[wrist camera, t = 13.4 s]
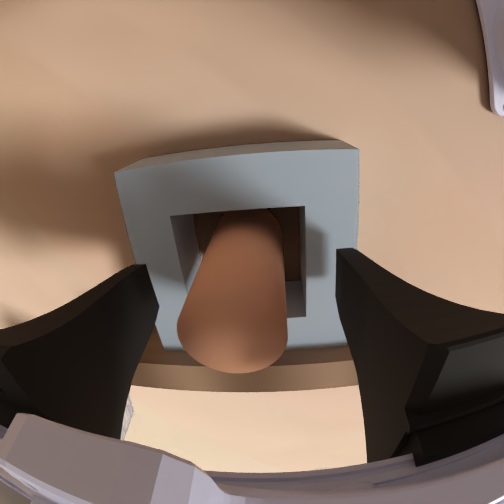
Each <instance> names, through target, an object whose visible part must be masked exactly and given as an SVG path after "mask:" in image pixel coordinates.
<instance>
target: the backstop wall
mask: <svg viewBox="0 0 504 504" xmlns="http://www.w3.org/2000/svg"><path fill="white" fill-rule="evenodd" d="M131 385H135V386H143V387H153V388H163V389H175V390H190V391H211V392H277V391H298V390H313V389H325V388H335V387H345V386H353V385H359V384H358V378H357V373H356V369H355V365H354V362H353V358H352V355H351V352H350V349H349V346H348V343H347V346H337V347H326V348H313V349H297V350H284V352H283V354H282V355H281V356H280V358H279V359H278V360H276V361H275V362H274V363H273V364H271V365H269V366H268V367H266V368H263V369H261V370H258V371H254V372H249V373H227V372H221V371H217V370H214V369H211V368H209V367H207V366H205V365H203V364H201V363H199V362H198V361H196V360H195V359H194V358H192V357H191V356H190V355H189V354H188V353H187V352H186V351H167V350H165V349H164V347H163V344H162V341H161V339H160V336H159V333H158V331H157V328H156V325H155V326H154V329H153V331H152V333H151V336H150V338H149V340H148V343H147V345H146V347H145V350H144V352H143V354H142V357H141V359H140V361H139V364H138V366H137V368H136V371H135V374H134V377H133V380H132V383H131Z"/></svg>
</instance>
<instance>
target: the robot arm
mask: <svg viewBox="0 0 504 504" xmlns="http://www.w3.org/2000/svg"><path fill="white" fill-rule="evenodd" d="M476 3H477V7H478V11H479V16H480V20H481V26H482V31H483V37H484V43H485V50H486V57H487V66H488V76H489V90H490V106H491V110H492V112H493V113H494V114H496V115H499V116H503V117H504V110H503V105H504V0H476ZM335 298H336V303H337V308H338V313H339V318H340V321H341V324H342V328H343V331H344V334H345V337H346V340H347V343H348V346H349V349H350V352H351V355H352V358H353V362H354V365H355V369H356V373H357V378H358V384H359V389H360V396H361V402H362V410H363V417H364V427H365V437H366V450H367V463H366V464H360V465H354V466H347V467H340V468H332V469H324V470H313V471H301V472H282V473H235V472H216V471H204V470H202V469H200V468H199V467H198V466H196V465H195V464H193V463H192V462H190V461H188V460H185V459H183V458H180V457H178V456H175V455H173V454H170V453H168V452H166V451H163V450H160V449H156V448H152V447H148V446H144V445H141V444H137V443H134V442H129V441H124V440H120V439H121V432H122V425H123V418H124V413H125V408H126V403H127V399H128V395H129V391H130V387H131V383H132V380H133V377H134V374H135V371H136V368H137V366H138V364H139V361H140V359H141V357H142V354H143V352H144V350H145V347H146V345H147V343H148V340H149V338H150V336H151V333H152V331H153V329H154V326H155V322H156V319H157V315H158V311H159V307H160V306H159V303H158V300H157V297H156V294H155V291H154V288H153V285H152V282H151V279H150V276H149V272H148V269H147V266H146V264H137V265H131V266H129V267H127V268H125V269H123V270H121V271H119V272H118V273H116V274H114V275H113V276H111V277H109V278H108V279H106V280H105V281H103V282H102V283H100V284H98V285H97V286H95V287H94V288H92V289H90V290H89V291H87V292H86V293H84V294H82V295H81V296H79V297H77V298H76V299H74V300H72V301H71V302H69V303H67V304H65V305H63V306H61V307H59V308H57V309H55V310H53V311H51V312H49V313H47V314H44V315H42V316H39V317H37V318H35V319H32V320H30V321H27V322H24V323H21V324H18V325H15V326H12V327H8V328H5V329H0V480H1V481H2V482H4V483H5V484H7V485H8V486H10V487H11V488H13V489H14V490H16V491H17V492H19V493H20V494H22V495H24V496H25V497H27V498H28V499H30V500H32V501H31V503H30V504H503V503H504V314H501V313H495V312H490V311H484V310H479V309H475V308H471V307H467V306H464V305H460V304H457V303H454V302H451V301H448V300H445V299H443V298H440V297H437V296H435V295H432V294H430V293H428V292H425V291H423V290H421V289H419V288H417V287H415V286H413V285H411V284H409V283H407V282H405V281H404V280H402V279H400V278H398V277H397V276H395V275H393V274H392V273H390V272H389V271H387V270H385V269H384V268H382V267H381V266H379V265H378V264H376V263H375V262H374V261H372V260H371V259H369V258H368V257H366V256H365V255H364V254H362V253H361V252H359V251H358V250H356V249H354V248H340V249H336V285H335Z"/></svg>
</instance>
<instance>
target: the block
mask: <svg viewBox="0 0 504 504" xmlns="http://www.w3.org/2000/svg"><path fill="white" fill-rule="evenodd" d="M114 177H115V182H116V186H117V191H118V196H119V200H120V204H121V209H122V213H123V217H124V221H125V225H126V229H127V233H128V237H129V241H130V245H131V248H132V252H133V255H134V259H135V262H136V265H137V264H146V266H147V269H148V272H149V276H150V279H151V282H152V285H153V288H154V291H155V294H156V297H157V300H158V303H159V306H160V307H159V311H158V315H157V319H156V322H155V325H156V328H157V331H158V333H159V336H160V339H161V341H162V344H163V347H164V349H165V350H167V351H186V350H185V349H184V348H183V346H182V345H181V343H180V341H179V338H178V335H177V321H178V317H179V315H180V312H181V310H182V307H183V305H184V302H185V300H186V297H187V295H188V293H189V290H190V288H191V285H192V283H193V280H194V278H195V275H196V273H197V271H198V268H199V266H200V264H201V257H200V252H199V247H198V241H197V236H196V230H195V224H194V219H193V214H196V213H207V212H219V211H232V210H246V209H260V208H276V207H293V206H299V219H300V251H301V280H298V281H285V291H286V308H287V326H288V342H287V346H286V348H285V350H297V349H313V348H326V347H337V346H347V340H346V337H345V334H344V331H343V328H342V324H341V321H340V318H339V313H338V308H337V303H336V298H335V285H336V249H340V248H354V249H356V250H357V238H358V216H359V149H358V148H356V147H354V146H352V145H350V144H348V143H346V142H344V141H341V140H315V141H290V142H273V143H259V144H247V145H236V146H227V147H217V148H209V149H201V150H193V151H186V152H179V153H172V154H166V155H160V156H154V157H148V158H143V159H141V160H139V161H136V162H134V163H132V164H130V165H128V166H126V167H124V168H122V169H120V170H118V171H116V172H114Z"/></svg>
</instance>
